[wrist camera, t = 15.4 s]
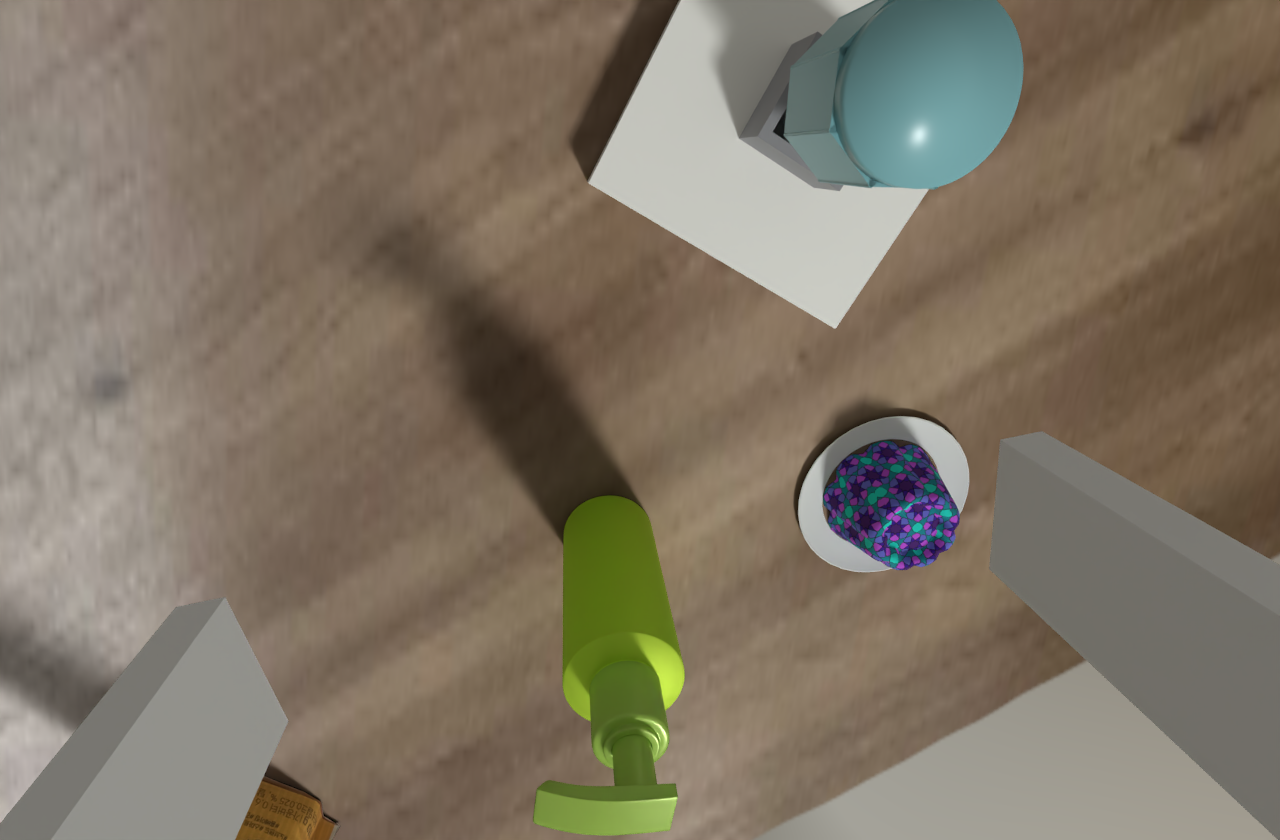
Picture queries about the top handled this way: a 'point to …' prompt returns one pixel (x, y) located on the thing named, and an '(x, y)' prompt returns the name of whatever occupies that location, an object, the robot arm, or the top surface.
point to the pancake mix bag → (285, 815)
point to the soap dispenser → (616, 670)
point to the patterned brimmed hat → (885, 496)
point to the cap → (905, 93)
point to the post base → (747, 155)
